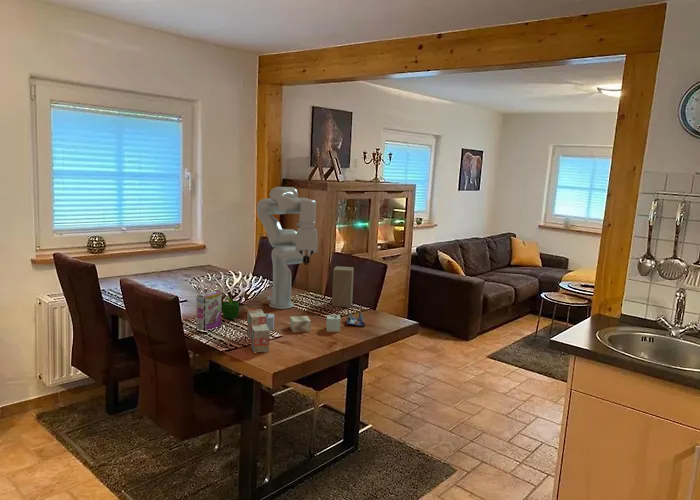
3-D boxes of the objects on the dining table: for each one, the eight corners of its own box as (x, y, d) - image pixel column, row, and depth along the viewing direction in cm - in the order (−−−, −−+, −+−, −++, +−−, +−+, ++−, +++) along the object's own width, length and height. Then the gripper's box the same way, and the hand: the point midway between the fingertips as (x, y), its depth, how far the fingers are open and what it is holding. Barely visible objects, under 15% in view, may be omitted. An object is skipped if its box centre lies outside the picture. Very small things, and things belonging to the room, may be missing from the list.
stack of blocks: (269, 352, 214) (269, 322, 212) (253, 353, 212) (253, 323, 210) (261, 335, 234) (261, 308, 232) (246, 336, 232) (247, 308, 230)
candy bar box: (204, 333, 233) (204, 296, 230) (195, 331, 235) (195, 295, 233) (222, 327, 243) (222, 291, 240) (213, 325, 245) (213, 290, 243)
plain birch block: (293, 332, 241) (293, 321, 240) (289, 327, 248) (290, 316, 248) (310, 331, 243) (310, 320, 242) (306, 326, 251) (307, 315, 250)
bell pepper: (243, 317, 259) (243, 297, 258) (232, 321, 252) (232, 300, 250) (228, 314, 263) (229, 294, 261) (218, 318, 255) (218, 298, 254)
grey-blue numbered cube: (259, 330, 241) (259, 316, 240) (260, 326, 247) (260, 313, 246) (273, 330, 242) (273, 317, 241) (273, 326, 248) (274, 313, 247)
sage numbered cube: (326, 331, 244) (327, 318, 243) (326, 327, 250) (326, 314, 249) (340, 331, 244) (340, 318, 243) (339, 327, 250) (339, 314, 249)
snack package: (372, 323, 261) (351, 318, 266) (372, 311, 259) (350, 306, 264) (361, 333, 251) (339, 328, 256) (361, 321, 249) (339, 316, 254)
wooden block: (352, 303, 295) (353, 267, 292) (350, 307, 285) (352, 270, 282) (334, 301, 296) (335, 265, 293) (331, 306, 286) (333, 269, 283)
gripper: (291, 226, 249) (290, 265, 252) (323, 227, 251) (322, 266, 253) (291, 224, 257) (290, 262, 260) (323, 225, 258) (321, 263, 261)
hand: (306, 264), depth 256 cm, fingers closed
